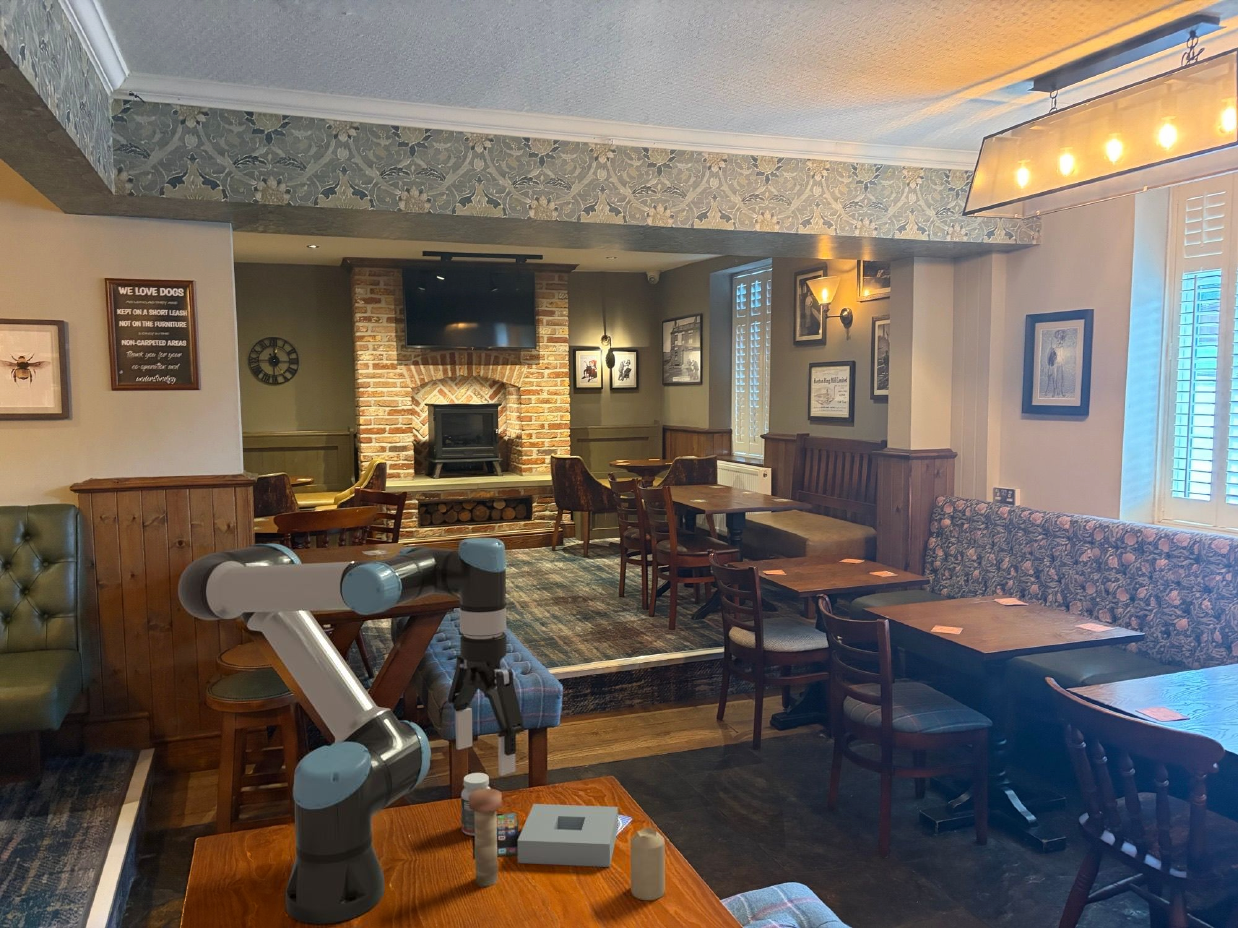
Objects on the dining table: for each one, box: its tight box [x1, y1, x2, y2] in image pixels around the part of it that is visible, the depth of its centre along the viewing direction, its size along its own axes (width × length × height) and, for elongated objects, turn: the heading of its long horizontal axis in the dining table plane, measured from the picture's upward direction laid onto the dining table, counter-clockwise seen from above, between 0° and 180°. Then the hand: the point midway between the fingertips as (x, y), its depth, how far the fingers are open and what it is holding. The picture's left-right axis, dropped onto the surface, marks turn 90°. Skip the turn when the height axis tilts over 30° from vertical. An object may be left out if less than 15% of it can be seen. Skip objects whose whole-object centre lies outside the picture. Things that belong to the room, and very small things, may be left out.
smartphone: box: [473, 812, 520, 860], centre depth 159 cm, size 8×15×1 cm, turn 9°
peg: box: [469, 788, 503, 888], centre depth 143 cm, size 5×5×14 cm
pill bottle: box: [460, 772, 491, 837], centre depth 161 cm, size 6×6×10 cm
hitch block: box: [517, 803, 619, 868], centre depth 155 cm, size 16×14×4 cm
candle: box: [630, 827, 666, 901], centre depth 140 cm, size 6×6×10 cm
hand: (484, 759), depth 142 cm, fingers open, 13 cm apart
